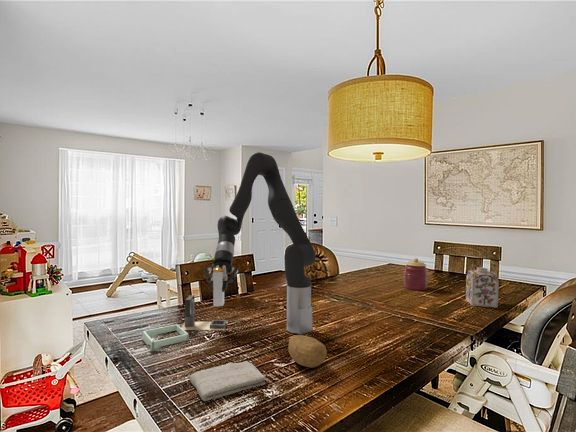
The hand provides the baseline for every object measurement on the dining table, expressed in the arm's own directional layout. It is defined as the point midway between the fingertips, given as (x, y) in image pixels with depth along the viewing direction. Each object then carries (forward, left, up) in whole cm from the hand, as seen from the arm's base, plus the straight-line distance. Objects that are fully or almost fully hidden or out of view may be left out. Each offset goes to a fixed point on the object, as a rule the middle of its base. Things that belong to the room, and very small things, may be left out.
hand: (217, 290), depth 130 cm
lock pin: (+1, -1, -6) cm, 6 cm away
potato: (-41, -10, -15) cm, 45 cm away
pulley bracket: (+5, +3, -15) cm, 16 cm away
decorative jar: (-41, -123, -15) cm, 130 cm away
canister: (-3, -125, -15) cm, 126 cm away
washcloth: (-37, +14, -16) cm, 43 cm away
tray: (+1, +19, -15) cm, 25 cm away
